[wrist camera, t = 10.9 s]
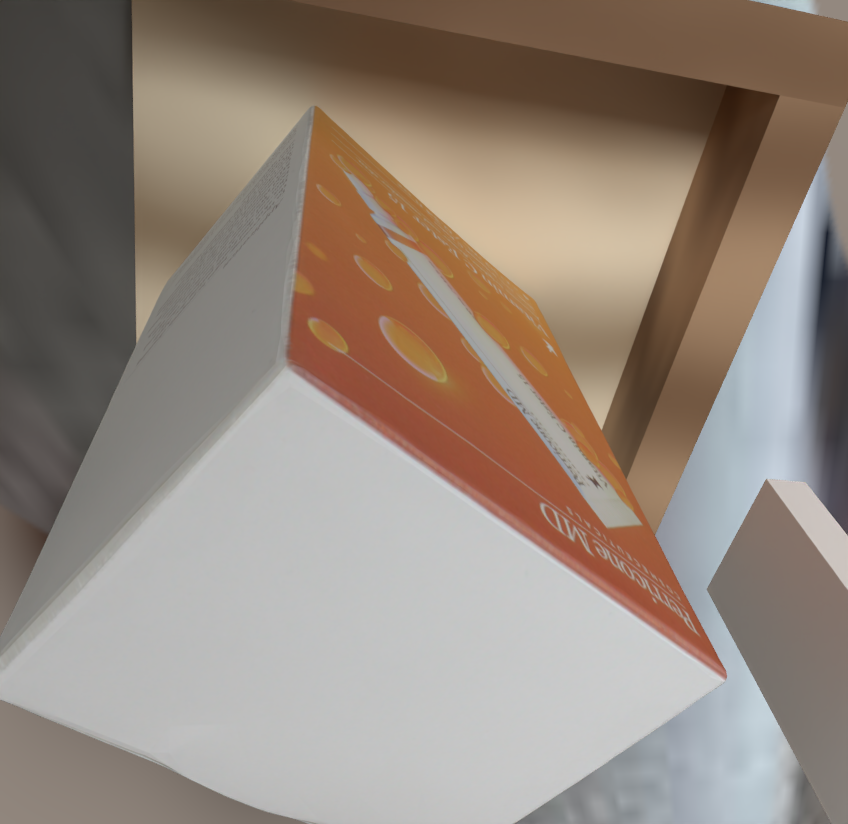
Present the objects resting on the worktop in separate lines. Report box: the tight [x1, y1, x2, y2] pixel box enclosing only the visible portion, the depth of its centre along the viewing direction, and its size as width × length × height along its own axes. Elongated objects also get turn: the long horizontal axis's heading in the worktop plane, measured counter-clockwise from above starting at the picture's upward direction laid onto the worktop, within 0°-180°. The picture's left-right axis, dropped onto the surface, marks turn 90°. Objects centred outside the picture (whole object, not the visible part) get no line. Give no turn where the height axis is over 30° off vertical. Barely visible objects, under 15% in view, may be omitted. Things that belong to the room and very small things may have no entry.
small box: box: [0, 105, 727, 824], centre depth 16 cm, size 8×6×13 cm
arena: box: [132, 0, 848, 535], centre depth 21 cm, size 17×16×4 cm
